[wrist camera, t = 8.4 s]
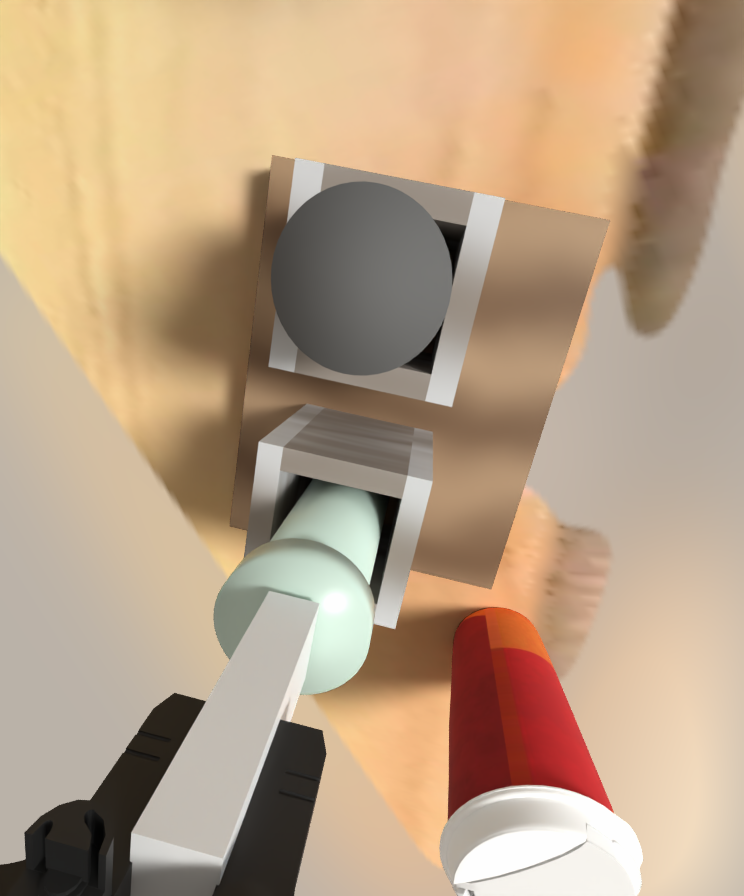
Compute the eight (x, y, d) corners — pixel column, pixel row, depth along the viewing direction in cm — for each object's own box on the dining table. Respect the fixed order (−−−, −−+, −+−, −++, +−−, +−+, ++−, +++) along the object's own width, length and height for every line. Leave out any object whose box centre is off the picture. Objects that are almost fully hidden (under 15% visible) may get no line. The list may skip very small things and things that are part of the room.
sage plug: (314, 436, 24) (221, 540, 14) (406, 457, 24) (384, 580, 13) (300, 520, 26) (207, 672, 15) (386, 540, 25) (354, 711, 15)
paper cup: (456, 700, 33) (472, 970, 19) (421, 607, 31) (413, 835, 18) (572, 678, 31) (675, 957, 18) (542, 579, 29) (634, 807, 16)
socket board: (284, 166, 24) (197, 86, 15) (595, 227, 23) (697, 178, 14) (242, 512, 31) (162, 599, 22) (487, 571, 30) (511, 688, 21)
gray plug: (354, 230, 22) (283, 164, 12) (453, 250, 22) (473, 201, 12) (337, 332, 24) (260, 355, 13) (430, 352, 24) (428, 392, 13)
